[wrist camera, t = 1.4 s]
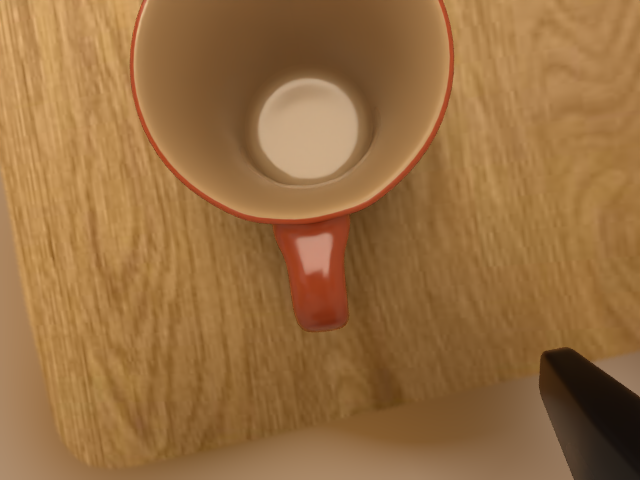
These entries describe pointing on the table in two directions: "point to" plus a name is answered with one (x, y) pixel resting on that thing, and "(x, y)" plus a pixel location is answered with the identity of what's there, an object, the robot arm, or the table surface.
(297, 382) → the table surface
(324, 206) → the mug
